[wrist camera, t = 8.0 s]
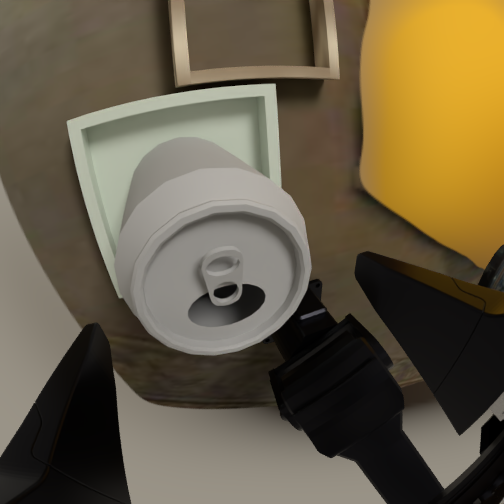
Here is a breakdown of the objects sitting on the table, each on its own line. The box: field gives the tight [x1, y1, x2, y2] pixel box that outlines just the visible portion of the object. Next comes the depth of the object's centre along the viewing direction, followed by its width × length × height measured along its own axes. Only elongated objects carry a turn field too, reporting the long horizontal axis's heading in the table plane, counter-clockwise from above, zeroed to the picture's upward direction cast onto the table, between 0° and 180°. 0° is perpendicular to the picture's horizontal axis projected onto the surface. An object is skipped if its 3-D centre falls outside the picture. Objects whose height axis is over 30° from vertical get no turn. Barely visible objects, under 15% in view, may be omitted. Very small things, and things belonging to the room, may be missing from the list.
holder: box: [168, 0, 340, 88], centre depth 14 cm, size 11×11×2 cm
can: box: [114, 137, 312, 355], centre depth 14 cm, size 8×8×12 cm
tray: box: [67, 84, 281, 298], centre depth 19 cm, size 13×13×2 cm
